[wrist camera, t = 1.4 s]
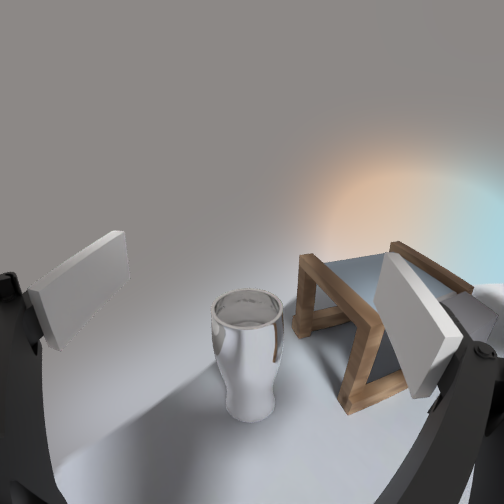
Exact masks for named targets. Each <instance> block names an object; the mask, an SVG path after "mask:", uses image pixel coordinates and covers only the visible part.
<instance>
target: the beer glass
mask: <svg viewBox="0 0 504 504" xmlns="http://www.w3.org/2000/svg"><path fill="white" fill-rule="evenodd" d="M211 317H212V341H213V348H214V354H215V358H216V361H217V364H218V367H219V370H220V372H221V375H222V377H223V379H224V382H225V384H226V387H227V396H226V409H227V411H228V412H229V414H230V415H231V416H232V417H233V418H235V419H237V420H239V421H242V422H248V423H252V422H258V421H261V420H264V419H265V418H267V417H268V416H269V415H270V414H271V413H272V412H273V410H274V408H275V397H274V393H273V384H274V380H275V377H276V375H277V372H278V368H279V365H280V362H281V357H282V353H283V344H284V323H283V305H282V302H281V300H280V299H279V298H278V297H277V296H275V295H274V294H272V293H270V292H267V291H264V290H260V289H251V288H249V289H248V288H245V289H237V290H232V291H229V292H226V293H224V294H222V295H221V296H219V297H218V298H217V299H216V300H215V301H214V302H213V304H212V306H211Z"/></svg>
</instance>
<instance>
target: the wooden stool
mask: <svg viewBox="0 0 504 504" xmlns="http://www.w3.org/2000/svg"><path fill="white" fill-rule="evenodd" d="M389 252H395V253H399V254H400V255H401V257H403V258H404V259H406V260H408V261H409V262H411V263H412V264H414V265H415V266H417V267H418V268H420V269H421V270H423V271H425V272H426V273H428V274H429V275H431V276H432V277H434V278H435V279H437V280H438V281H440V282H441V283H442V284H444V285H445V286H447V287H448V288H450V289H451V290H453V291H455V292H456V293H457V295H458V294H460V293H462V292H464V291H466V292H467V293H469V294H470V295H472V292H473V289H474V287H473V286H472V285H470V284H469V283H467V282H466V281H464V280H463V279H461V278H459V277H458V276H456V275H455V274H453V273H452V272H450V271H449V270H447V269H445V268H444V267H442V266H440V265H439V264H437V263H436V262H434V261H432V260H431V259H429V258H427V257H426V256H424V255H422V254H421V253H419V252H417V251H415V250H414V249H412V248H410V247H409V246H407V245H405V244H403V243H402V242H400V241H397V242H391V245H390V251H389ZM316 284H318V285H319V287H320V288H321V289H322V290H323V291H324V292H325V293H326V294H327V295H328V296H329V297H330V298H331V299H332V300H333V301H334V303H335V304H336V305H337V306H335V307H330V308H326V309H322V310H317V311H314V303H315V294H316ZM350 321H352V322H353V323H354V324H355V325H356V326H357V330H356V334H355V338H354V342H353V346H352V350H351V354H350V357H349V361H348V364H347V368H346V371H345V375H344V378H343V381H342V385H341V388H340V391H339V394H338V397H337V400H338V401H339V403H340V404H341V406H342V407H343V409H344V410H345V412H346V414H347V415H350V414H353V413H355V412H357V411H360V410H362V409H364V408H367V407H369V406H371V405H374V404H376V403H378V402H380V401H382V400H384V399H387V398H389V397H391V396H393V395H395V394H397V393H399V392H401V391H403V390H405V389H407V388H408V385H407V383H406V380H405V377H404V375H403V372H402V369H400V370H398V371H396V372H393V373H391V374H389V375H387V376H384V377H382V378H380V379H378V380H375V381H373V382H370V383H368V384H366V382H367V380H368V377H369V374H370V372H371V369H372V366H373V363H374V360H375V358H376V355H377V352H378V349H379V346H380V343H381V339H382V336H383V333H384V330H385V327H384V325H383V323H382V320H381V318H380V316H379V314H378V313H377V312H376V311H375V310H374V309H373V308H372V307H371V306H370V305H369V304H368V303H367V302H366V301H365V300H364V299H362V298H361V297H360V296H359V295H358V294H357V293H356V292H355V291H354V290H353V289H352V288H351V287H349V286H348V285H347V284H346V283H345V282H344V281H343V280H342V279H341V278H340V277H338V276H337V275H336V274H335V273H334V272H333V271H332V270H331V269H330V268H328V267H327V266H326V265H325V264H324V263H323V262H321V260H319V259H318V258H317V257H316V256H315V255H314V254H304V255H300V257H299V274H298V289H297V302H296V315H294V316H293V319H292V329H293V330H294V332H295V334H296V335H297V337H298V338H299V339H300V338H305V337H309V336H310V335H311V332H312V331H316V330H320V329H324V328H328V327H332V326H335V325H339V324H343V323H347V322H350Z"/></svg>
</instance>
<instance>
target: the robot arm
mask: <svg viewBox="0 0 504 504" xmlns="http://www.w3.org/2000/svg"><path fill="white" fill-rule="evenodd" d="M129 279H131V277H130V270H129V262H128V255H127V247H126V239H125V232H124V231H112V232H110V233H108V234H107V235H105V236H104V237H102V238H100V239H99V240H97V241H96V242H94V243H92V244H91V245H89V246H88V247H86V248H84V249H83V250H81V251H80V252H78V253H77V254H75V255H74V256H72V257H71V258H69V259H68V260H66V261H65V262H63V263H62V264H60V265H59V266H58V267H56V268H55V269H53V270H52V271H50V272H49V273H48V274H46V275H45V276H43V277H42V278H41V279H39V280H38V281H36V282H35V283H34V284H32V285H31V286H30V287H28V288H27V291H26V292H24V293H23V294H22V292H21V289H20V285H19V282H18V279H17V275H16V274H15V273H14V272H7V273H3V274H1V275H0V504H67V502H66V500H65V498H64V497H63V495H62V494H61V492H60V491H59V490H58V488H57V486H56V483H55V479H54V475H53V470H52V465H51V461H50V455H49V449H48V443H47V436H46V428H45V419H44V408H43V393H42V345H41V342H40V340H39V339H40V338H41V337H42V336H43V335H44V337H45V339H46V342H47V344H48V346H49V347H50V348H53V349H55V350H58V351H62V350H63V349H64V348H65V346H66V345H67V344H68V343H69V342H70V341H71V340H72V339H73V338H74V336H75V335H76V334H77V333H78V332H79V331H80V330H81V329H82V328H83V327H84V325H86V324H87V322H88V321H89V320H90V319H91V318H92V317H93V316H94V315H95V314H96V313H97V312H98V311H99V310H100V309H101V308H102V307H103V306H104V305H105V304H106V303H107V302H108V301H109V300H110V299H111V297H112V296H114V295H115V293H117V292H118V290H119V289H120V288H122V287H123V285H125V284H126V283H127V282H128V281H129ZM373 303H374V305H375V307H376V309H377V311H378V314H379V316H380V318H381V320H382V323H383V325H384V327H385V330H386V332H387V334H388V337H389V339H390V342H391V344H392V346H393V349H394V351H395V354H396V356H397V359H398V361H399V364H400V367H401V369H402V372H403V375H404V377H405V380H406V383H407V385H408V388H409V391H410V394H411V397H412V399H417V398H425V397H430V396H431V394H432V392H433V391H434V389H435V388H436V386H438V388H439V390H440V392H441V393H440V394H439V396H438V397H437V399H436V400H435V402H434V403H433V405H432V406H431V408H430V409H429V411H428V412H427V413H429V416H428V418H427V420H426V422H425V424H424V426H423V428H422V430H421V432H420V433H419V435H418V437H417V439H416V441H415V442H414V444H413V446H412V448H411V449H410V451H409V453H408V455H407V456H406V458H405V459H404V461H403V463H402V464H401V466H400V467H399V469H398V470H397V472H396V474H395V475H394V476H393V478H392V479H391V481H390V482H389V484H388V485H387V487H386V488H385V489H384V491H383V492H382V493H381V495H380V496H379V498H378V499H377V500H376V501H375V503H374V504H458V503H459V501H460V499H461V496H462V494H463V492H464V490H465V487H466V485H467V482H468V480H469V477H470V475H471V472H472V469H473V467H474V464H475V467H474V475H473V482H472V488H471V493H470V498H469V503H468V504H504V358H499V357H497V354H496V352H495V350H494V349H493V348H492V347H491V346H490V345H488V344H486V343H484V342H481V341H473V340H472V338H471V337H470V335H469V334H468V332H467V331H466V330H465V328H464V327H463V326H462V324H461V323H460V321H459V320H458V319H457V317H455V315H454V313H453V312H452V311H451V310H450V308H448V307H447V306H446V305H444V304H443V303H442V302H438V301H437V299H436V298H435V297H434V295H433V294H432V293H431V292H430V290H429V289H428V288H427V287H426V285H425V284H424V283H423V282H422V280H421V279H420V278H419V277H418V276H417V274H416V273H415V272H414V271H413V269H412V268H411V267H410V266H409V265H408V264H407V262H406V261H405V260H404V259H403V258H402V257H401V255H400V254H399V253H390V252H385V254H384V259H383V263H382V267H381V272H380V276H379V280H378V284H377V288H376V292H375V296H374V299H373Z"/></svg>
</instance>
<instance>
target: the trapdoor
mask: <svg viewBox="0 0 504 504" xmlns="http://www.w3.org/2000/svg"><path fill="white" fill-rule="evenodd" d="M390 253H395V252H390ZM384 254H385V253H383V254H377V255H371V256H365V257H359V258H352V259H346V260H340V261H334V262H328V263H324V264H325V265H326V266H327V267H328V268H330V269H331V270H332V271H333V272H334V273H335V274H336V275H337V276H338V277H340V278H341V279H342V280H343V281H344V282H345V283H346V284H347V285H348V286H349V287H351V288H352V289H353V290H354V291H355V292H356V293H357V294H358V295H359V296H360V297H361V298H362V299H364V300H365V301H366V302H367V303H368V304H369V305H370V306H371V307H372V308H373V309H374V310H375V311H376V312H377V313H378V311H377V309H376V307H375V305H374V303H373V299H374V296H375V292H376V288H377V284H378V280H379V276H380V272H381V267H382V263H383V259H384ZM402 258H403V257H402ZM403 259H404V258H403ZM404 260H405V261H406V262H407V264H408V265H409V266H410V267H411V268H412V269H413V271H414V272H415V273H416V274H417V276H418V277H419V278H420V279H421V280H422V282H423V283H424V284H425V285H426V287H427V288H428V289H429V290H430V292H431V293H432V294H433V295H434V297H435V298H436V299H437V301H438V302H442V303H443V304H444V305H446V306H447V307H448V308H450V310H451V311H452V312H453V313H454V315H455V317H457V319H458V320H459V321H460V323H461V324H462V326H463V327H464V328H465V330H466V331H467V332H468V334H469V335H470V337H471V338H472V340H473V341H481V342H484V343H486V341H487V339H488V337H489V335H490V333H491V331H492V329H493V327H494V325H495V322H496V320H497V318H498V316H499V315H498V314H497V313H495V312H494V311H493V310H491V309H490V308H488V307H487V306H486V305H484V304H483V303H482V302H480V301H479V300H477V299H476V298H475V297H473V296H472V295H470V294H469V293H467V292H466V291H464V292H462V293H460V294H458V295H457V293H456V292H455V291H453V290H451V289H450V288H448V287H447V286H445V285H444V284H442V283H441V282H440V281H438V280H437V279H435V278H434V277H432V276H431V275H429V274H428V273H426V272H425V271H423V270H421V269H420V268H418V267H417V266H415V265H414V264H412V263H411V262H409V261H408V260H406V259H404ZM392 347H393V346H392Z"/></svg>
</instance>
